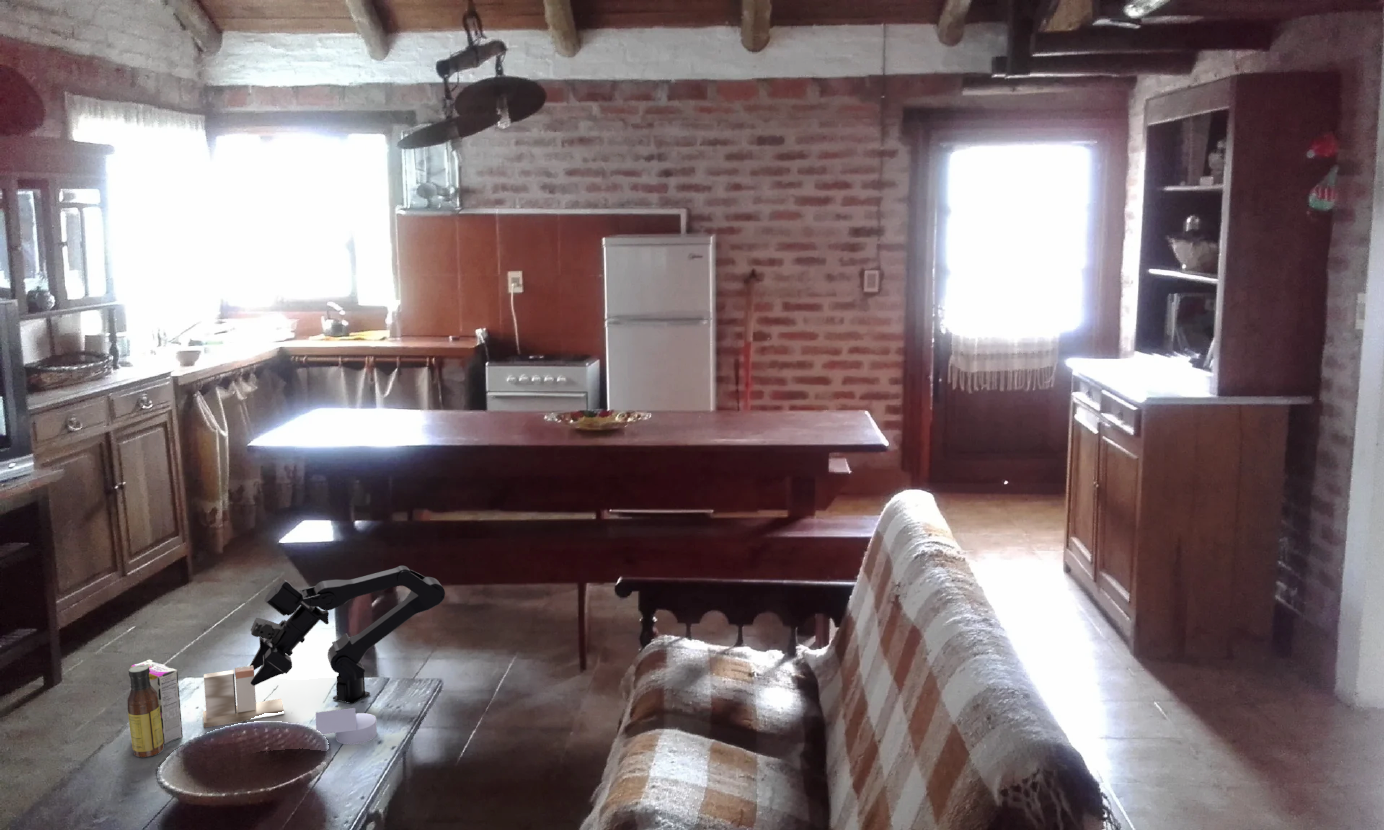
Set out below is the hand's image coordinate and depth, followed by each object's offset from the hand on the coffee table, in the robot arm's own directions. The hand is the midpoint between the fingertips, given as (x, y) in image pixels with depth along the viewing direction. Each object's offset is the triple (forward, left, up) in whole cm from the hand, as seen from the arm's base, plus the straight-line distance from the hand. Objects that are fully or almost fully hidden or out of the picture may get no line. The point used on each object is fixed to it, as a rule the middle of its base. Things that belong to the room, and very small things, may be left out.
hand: (250, 677), depth 260 cm
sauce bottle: (+25, -5, -9) cm, 27 cm away
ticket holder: (+2, -1, -9) cm, 9 cm away
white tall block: (+1, -1, -8) cm, 8 cm away
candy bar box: (+18, -10, -9) cm, 23 cm away
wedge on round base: (0, +29, -9) cm, 30 cm away
